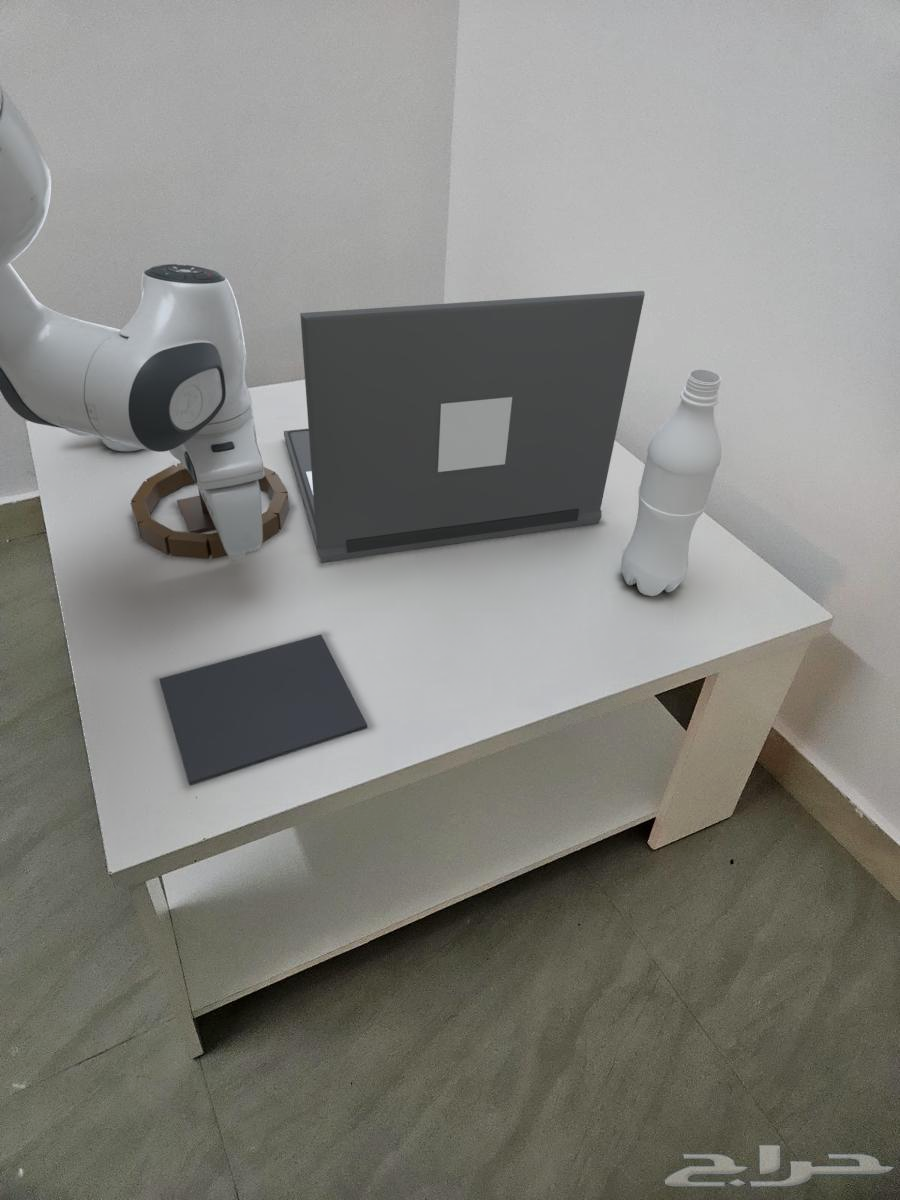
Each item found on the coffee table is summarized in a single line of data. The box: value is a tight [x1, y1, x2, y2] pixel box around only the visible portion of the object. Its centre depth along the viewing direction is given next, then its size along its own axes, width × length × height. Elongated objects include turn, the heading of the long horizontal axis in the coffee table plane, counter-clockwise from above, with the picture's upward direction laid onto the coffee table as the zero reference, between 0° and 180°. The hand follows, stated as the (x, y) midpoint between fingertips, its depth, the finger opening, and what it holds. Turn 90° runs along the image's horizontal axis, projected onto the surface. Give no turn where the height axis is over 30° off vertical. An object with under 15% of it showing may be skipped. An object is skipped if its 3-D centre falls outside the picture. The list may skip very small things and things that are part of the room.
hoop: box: [130, 462, 290, 560], centre depth 98 cm, size 18×18×2 cm
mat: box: [159, 634, 368, 786], centre depth 76 cm, size 16×13×1 cm
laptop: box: [283, 290, 646, 563], centre depth 97 cm, size 35×28×28 cm
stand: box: [176, 487, 217, 534], centre depth 97 cm, size 7×7×5 cm
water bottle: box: [621, 368, 722, 597], centre depth 84 cm, size 7×7×25 cm
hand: (227, 538), depth 92 cm, fingers open, 6 cm apart
